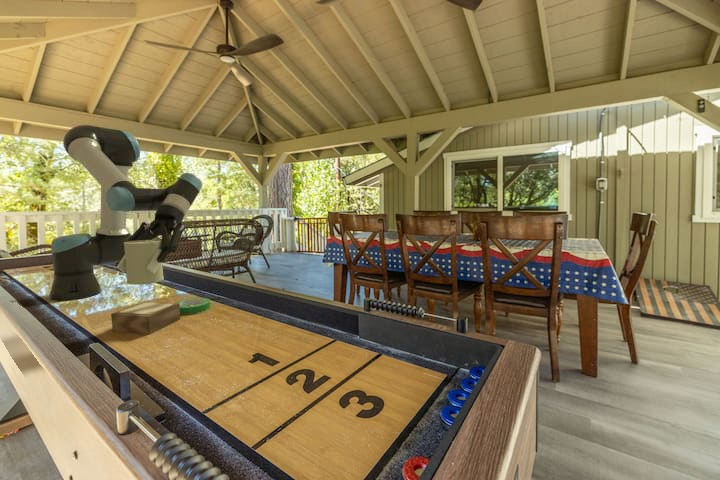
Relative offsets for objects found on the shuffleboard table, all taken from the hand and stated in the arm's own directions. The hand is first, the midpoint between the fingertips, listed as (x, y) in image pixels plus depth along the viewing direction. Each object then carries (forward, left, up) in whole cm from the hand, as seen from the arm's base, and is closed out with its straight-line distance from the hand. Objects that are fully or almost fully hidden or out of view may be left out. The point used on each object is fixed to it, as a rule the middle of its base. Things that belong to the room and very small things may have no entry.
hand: (135, 270), depth 95 cm
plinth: (0, +3, -17) cm, 17 cm away
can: (0, +3, -4) cm, 5 cm away
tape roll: (+3, +19, -18) cm, 26 cm away
